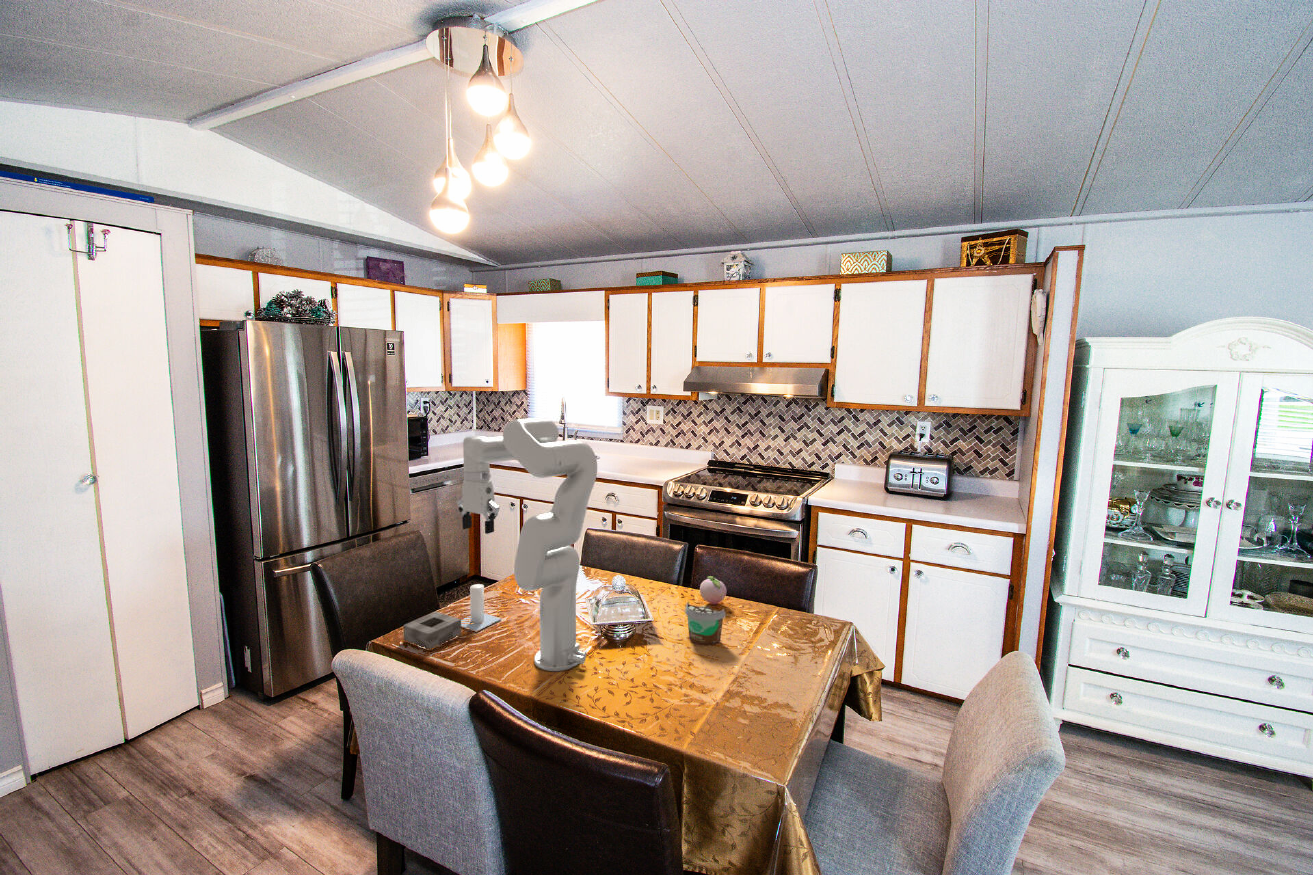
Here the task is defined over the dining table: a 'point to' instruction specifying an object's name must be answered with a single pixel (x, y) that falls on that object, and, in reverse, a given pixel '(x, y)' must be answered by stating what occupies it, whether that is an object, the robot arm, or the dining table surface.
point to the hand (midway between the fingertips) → (478, 530)
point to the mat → (487, 621)
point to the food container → (704, 624)
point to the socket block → (432, 630)
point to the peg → (477, 603)
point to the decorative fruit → (712, 590)
